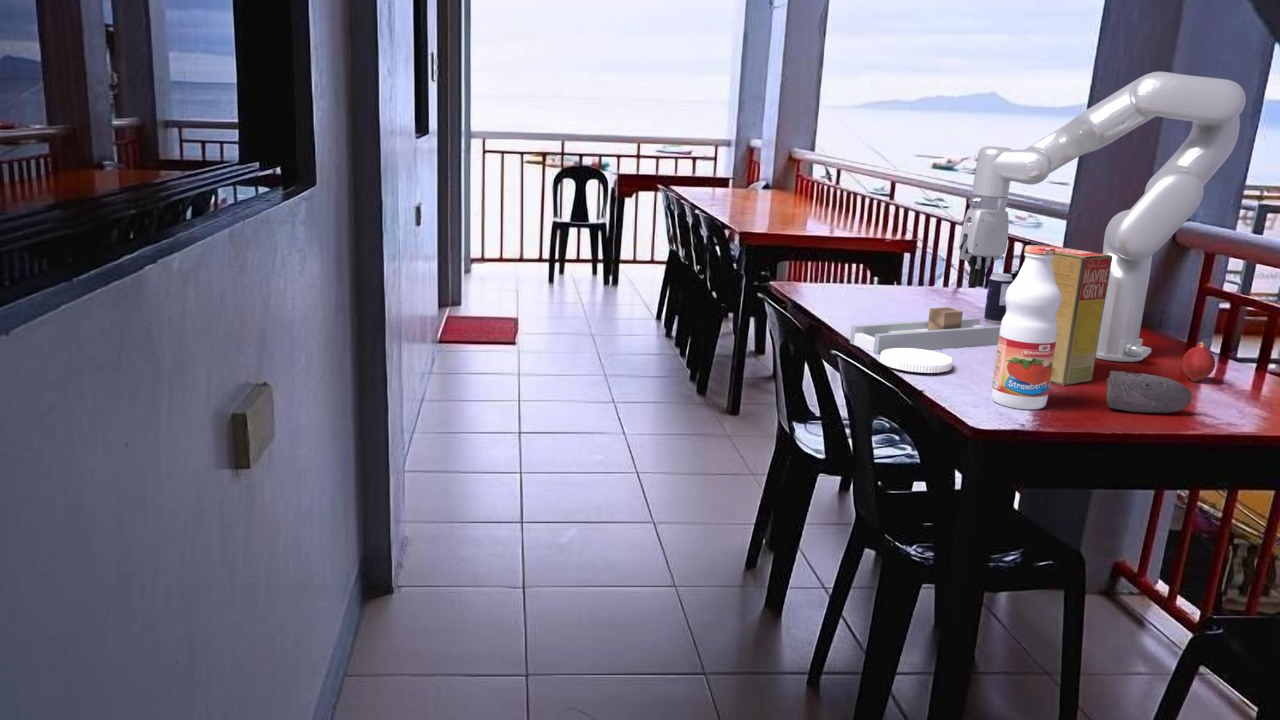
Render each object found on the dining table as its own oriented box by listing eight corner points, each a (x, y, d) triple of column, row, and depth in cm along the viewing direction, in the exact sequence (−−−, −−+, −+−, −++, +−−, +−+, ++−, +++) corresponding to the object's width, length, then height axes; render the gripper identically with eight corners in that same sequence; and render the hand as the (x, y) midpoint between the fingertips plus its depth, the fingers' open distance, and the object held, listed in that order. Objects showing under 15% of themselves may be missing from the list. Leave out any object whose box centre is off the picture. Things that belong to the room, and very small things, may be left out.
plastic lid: (959, 367, 196) (961, 355, 195) (939, 381, 185) (941, 369, 184) (892, 356, 203) (894, 344, 203) (869, 369, 192) (870, 357, 191)
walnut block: (960, 333, 214) (962, 311, 213) (942, 334, 212) (944, 312, 211) (944, 328, 219) (947, 307, 217) (927, 329, 217) (929, 308, 215)
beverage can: (1004, 320, 243) (1010, 273, 240) (1010, 324, 238) (1016, 277, 235) (981, 318, 244) (987, 272, 241) (986, 323, 238) (992, 275, 235)
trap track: (1004, 344, 217) (1007, 326, 216) (877, 354, 203) (879, 335, 202) (973, 334, 226) (975, 317, 225) (849, 343, 212) (851, 325, 211)
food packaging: (1094, 381, 188) (1115, 254, 182) (1063, 386, 184) (1083, 256, 177) (1037, 364, 199) (1055, 245, 193) (1006, 369, 195) (1023, 246, 188)
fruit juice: (1026, 394, 177) (1048, 243, 170) (1057, 410, 168) (1082, 251, 161) (980, 395, 175) (1000, 242, 168) (1009, 411, 166) (1031, 250, 159)
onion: (1181, 375, 195) (1188, 337, 193) (1213, 381, 191) (1221, 342, 189) (1175, 381, 190) (1182, 342, 188) (1208, 387, 187) (1216, 347, 185)
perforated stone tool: (1182, 411, 171) (1189, 373, 169) (1194, 419, 166) (1202, 381, 164) (1094, 404, 173) (1100, 367, 171) (1103, 413, 168) (1109, 374, 166)
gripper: (973, 205, 205) (961, 289, 210) (1026, 206, 211) (1013, 288, 216) (950, 201, 212) (938, 283, 217) (1002, 202, 218) (989, 282, 223)
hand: (975, 285), depth 216 cm, fingers closed
